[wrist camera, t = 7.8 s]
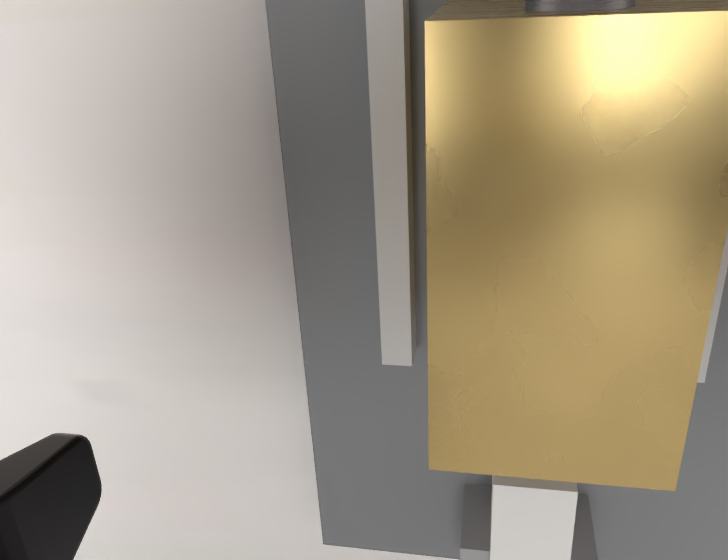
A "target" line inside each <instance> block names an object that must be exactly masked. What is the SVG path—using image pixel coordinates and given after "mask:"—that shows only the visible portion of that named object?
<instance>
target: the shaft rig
mask: <svg viewBox="0 0 728 560" xmlns="http://www.w3.org/2000/svg"><path fill="white" fill-rule="evenodd" d="M446 1H448V0H266V9H267V19H268V28H269V38H270V47H271V56H272V66H273V75H274V85H275V94H276V103H277V113H278V122H279V132H280V141H281V151H282V160H283V169H284V179H285V188H286V198H287V207H288V216H289V226H290V235H291V245H292V254H293V263H294V273H295V282H296V292H297V301H298V311H299V320H300V329H301V339H302V348H303V358H304V367H305V376H306V386H307V395H308V405H309V414H310V423H311V433H312V442H313V452H314V461H315V471H316V480H317V489H318V499H319V508H320V518H321V527H322V536H323V544H326V545H335V546H344V547H353V548H362V549H371V550H380V551H390V552H399V553H408V554H417V555H426V556H435V557H444V558H454V559H460V560H728V229H727V234H726V239H725V244H724V249H723V254H722V259H721V264H720V269H719V274H718V279H717V284H716V289H715V294H714V299H713V304H712V309H711V314H710V319H709V325H708V330H707V335H706V340H705V345H704V350H703V355H702V360H701V365H700V370H699V375H698V380H697V385H696V390H695V395H694V400H693V405H692V410H691V415H690V420H689V425H688V430H687V435H686V440H685V445H684V450H683V455H682V460H681V466H680V471H679V476H678V481H677V486H676V491H666V490H655V489H644V488H632V487H621V486H610V485H598V484H587V483H576V482H564V481H553V480H541V479H530V478H519V477H507V476H496V475H485V474H473V473H462V472H451V471H439V470H429V452H428V337H427V222H426V107H425V21H426V20H427V19H428V18H429V17H430V16H431V15H432V14H433V13H434V12H436V11H437V10H438V9H439V8H440V7H441V6H442V5H443V4H444V3H445V2H446Z"/></svg>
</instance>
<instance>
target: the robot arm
mask: <svg viewBox="0 0 728 560" xmlns="http://www.w3.org/2000/svg"><path fill="white" fill-rule="evenodd" d="M100 497H101V480H100V476H99V473H98V469H97V465H96V461H95V458H94V454H93V450H92V446H91V443H90V441H89V440H88V439H87V438H86V437H85V436H82V435H77V434H66V433H55V434H52V435H50V436H48V437H46V438H44V439H42V440H40V441H38V442H36V443H34V444H32V445H30V446H28V447H26V448H24V449H22V450H20V451H18V452H16V453H14V454H12V455H10V456H8V457H6V458H4V459H2V460H0V560H73V559H74V557H75V555H76V552H77V550H78V548H79V546H80V544H81V541H82V539H83V537H84V535H85V533H86V530H87V528H88V526H89V524H90V522H91V519H92V517H93V515H94V513H95V511H96V509H97V506H98V504H99V501H100Z"/></svg>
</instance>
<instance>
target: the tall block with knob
mask: <svg viewBox="0 0 728 560" xmlns="http://www.w3.org/2000/svg"><path fill="white" fill-rule="evenodd" d="M425 107H426V222H427V337H428V452H429V470H439V471H451V472H462V473H473V474H485V475H496V476H507V477H519V478H530V479H541V480H553V481H564V482H576V483H587V484H598V485H610V486H621V487H632V488H644V489H655V490H666V491H676V486H677V481H678V476H679V471H680V466H681V460H682V455H683V450H684V445H685V440H686V435H687V430H688V425H689V420H690V415H691V410H692V405H693V400H694V395H695V390H696V385H697V380H698V375H699V370H700V365H701V360H702V355H703V350H704V345H705V340H706V335H707V330H708V325H709V319H710V314H711V309H712V304H713V299H714V294H715V289H716V284H717V279H718V274H719V269H720V264H721V259H722V254H723V249H724V244H725V239H726V234H727V229H728V0H448V1H446V2H445V3H444V4H443V5H442V6H441V7H440V8H439V9H438V10H437V11H436V12H434V13H433V14H432V15H431V16H430V17H429V18H428V19H427V20H426V21H425Z"/></svg>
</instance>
